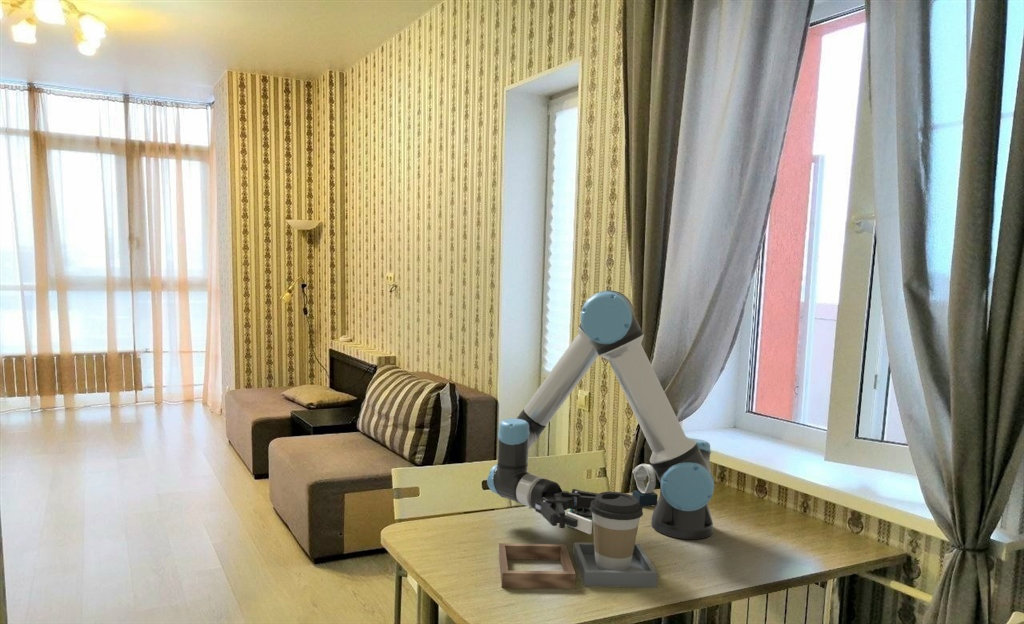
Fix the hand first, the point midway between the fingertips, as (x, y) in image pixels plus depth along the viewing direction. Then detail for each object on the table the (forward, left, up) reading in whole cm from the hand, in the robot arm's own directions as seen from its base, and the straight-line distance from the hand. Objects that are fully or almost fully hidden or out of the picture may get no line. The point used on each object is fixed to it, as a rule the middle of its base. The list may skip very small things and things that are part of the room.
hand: (611, 520), depth 147 cm
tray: (-1, 0, -11) cm, 11 cm away
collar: (+16, +1, -11) cm, 20 cm away
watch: (-19, -43, -11) cm, 48 cm away
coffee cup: (-1, 0, -10) cm, 10 cm away
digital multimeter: (+1, -30, -12) cm, 32 cm away
